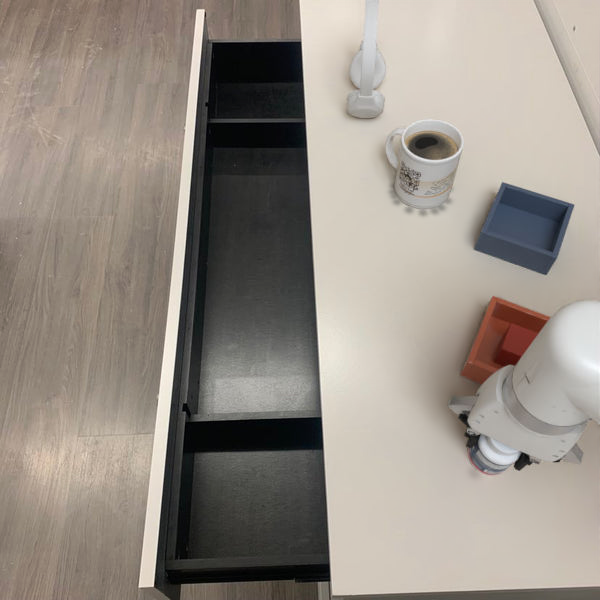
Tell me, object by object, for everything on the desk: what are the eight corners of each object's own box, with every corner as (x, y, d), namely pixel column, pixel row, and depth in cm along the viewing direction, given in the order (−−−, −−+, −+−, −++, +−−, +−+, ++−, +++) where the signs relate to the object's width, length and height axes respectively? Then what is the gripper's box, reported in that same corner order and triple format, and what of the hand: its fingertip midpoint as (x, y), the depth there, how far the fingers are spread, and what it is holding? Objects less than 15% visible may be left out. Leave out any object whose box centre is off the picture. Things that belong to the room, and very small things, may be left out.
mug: (397, 213, 91) (406, 166, 81) (381, 164, 97) (387, 114, 87) (457, 204, 91) (472, 156, 82) (437, 155, 97) (449, 105, 88)
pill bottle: (483, 427, 71) (501, 404, 63) (516, 455, 69) (540, 434, 61) (459, 455, 69) (475, 435, 61) (492, 485, 67) (513, 467, 59)
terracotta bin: (563, 341, 77) (575, 326, 73) (542, 410, 72) (555, 398, 68) (484, 311, 80) (492, 295, 76) (459, 375, 75) (467, 361, 71)
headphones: (384, 73, 110) (394, -27, 93) (382, 134, 101) (393, 35, 84) (350, 72, 111) (354, -27, 94) (344, 133, 101) (347, 34, 84)
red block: (532, 349, 76) (543, 335, 72) (524, 374, 74) (534, 361, 70) (502, 337, 77) (511, 322, 73) (493, 362, 75) (501, 348, 71)
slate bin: (563, 223, 88) (574, 204, 84) (546, 275, 83) (557, 258, 79) (494, 200, 91) (502, 181, 87) (473, 249, 86) (480, 232, 82)
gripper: (649, 398, 50) (573, 451, 65) (471, 328, 54) (439, 393, 70) (635, 471, 46) (558, 509, 62) (446, 389, 51) (419, 443, 66)
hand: (495, 447), depth 66 cm, fingers closed on pill bottle, 5 cm apart
